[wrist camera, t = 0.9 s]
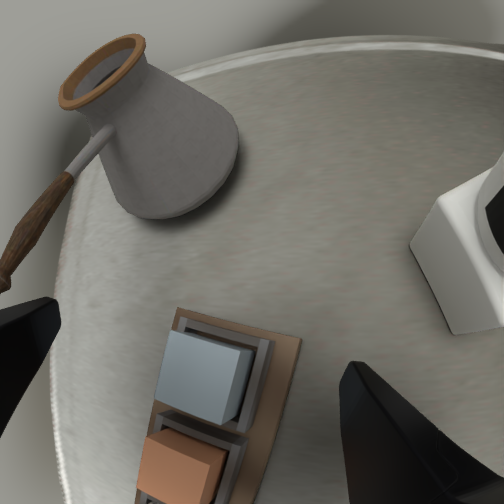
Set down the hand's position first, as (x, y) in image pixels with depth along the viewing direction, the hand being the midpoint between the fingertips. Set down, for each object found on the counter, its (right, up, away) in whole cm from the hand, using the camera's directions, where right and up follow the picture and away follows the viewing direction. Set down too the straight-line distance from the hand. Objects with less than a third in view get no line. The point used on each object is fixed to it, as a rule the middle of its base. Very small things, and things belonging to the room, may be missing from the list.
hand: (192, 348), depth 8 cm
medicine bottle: (+17, +2, +9) cm, 19 cm away
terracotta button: (-2, -11, +7) cm, 13 cm away
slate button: (-1, -5, +9) cm, 10 cm away
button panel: (-1, -11, +10) cm, 15 cm away
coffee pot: (-4, +5, +16) cm, 18 cm away
